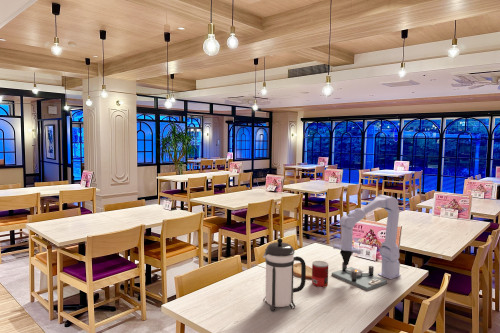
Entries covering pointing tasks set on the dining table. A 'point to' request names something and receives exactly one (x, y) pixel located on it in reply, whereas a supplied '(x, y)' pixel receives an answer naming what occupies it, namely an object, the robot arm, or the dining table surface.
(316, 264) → the canned food
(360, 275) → the capstan
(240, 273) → the dining table surface
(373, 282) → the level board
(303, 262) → the coffee press
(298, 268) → the slice of bread
